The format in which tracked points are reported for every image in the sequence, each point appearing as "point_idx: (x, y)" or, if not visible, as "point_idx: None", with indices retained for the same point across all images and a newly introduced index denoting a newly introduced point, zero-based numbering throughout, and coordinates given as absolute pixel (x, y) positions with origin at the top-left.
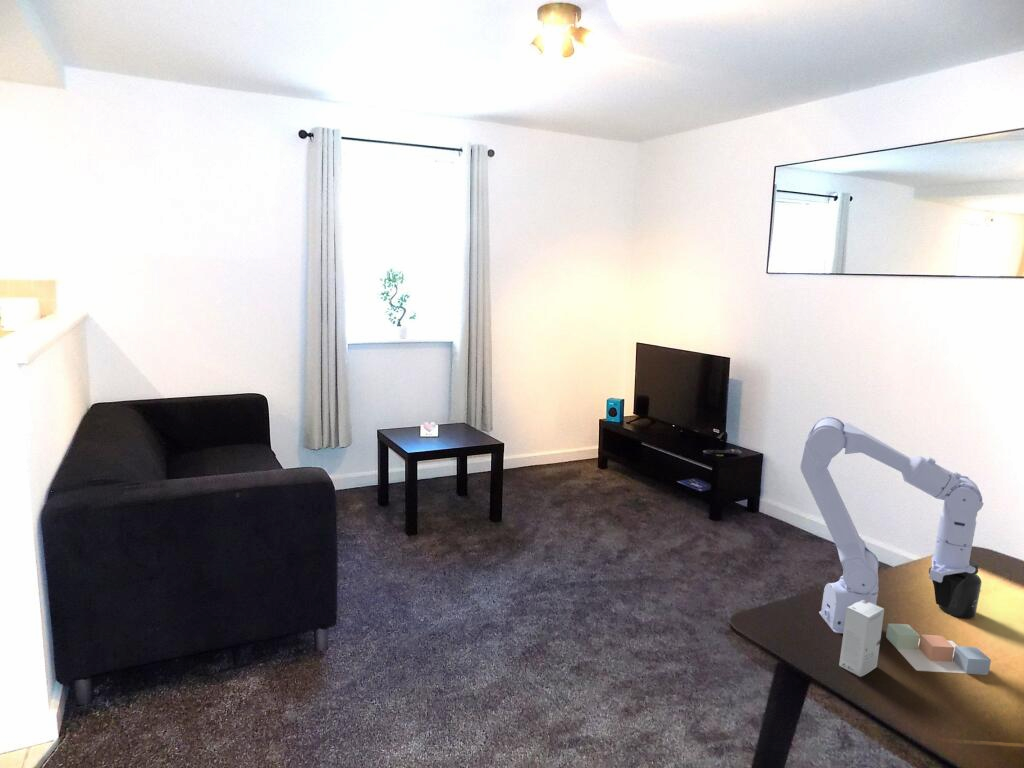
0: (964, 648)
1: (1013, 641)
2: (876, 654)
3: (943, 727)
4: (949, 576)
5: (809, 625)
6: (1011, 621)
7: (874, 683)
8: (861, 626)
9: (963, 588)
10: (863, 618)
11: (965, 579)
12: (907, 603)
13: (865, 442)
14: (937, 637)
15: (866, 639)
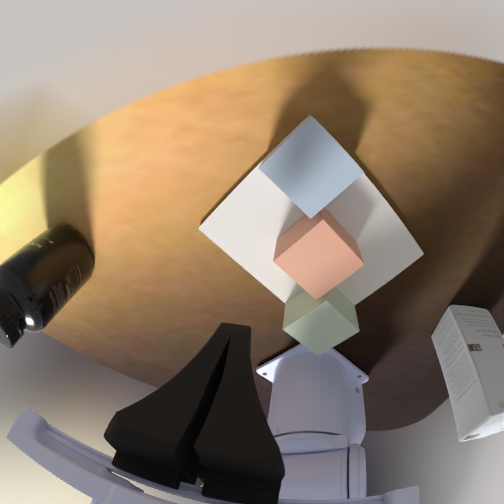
0: (302, 195)
1: (73, 137)
2: (468, 328)
3: None
4: (267, 488)
5: (364, 397)
6: (21, 175)
7: (491, 290)
8: None
9: (40, 286)
10: None
11: (130, 406)
12: (125, 321)
13: None
14: (296, 267)
15: None
